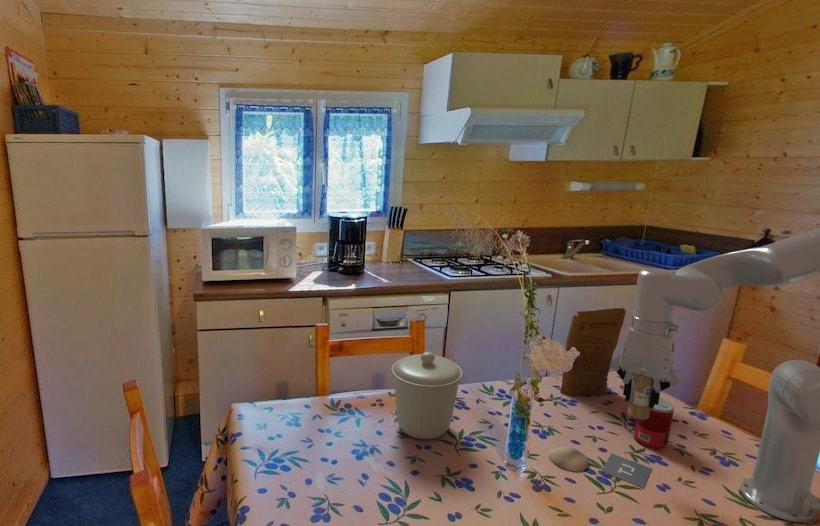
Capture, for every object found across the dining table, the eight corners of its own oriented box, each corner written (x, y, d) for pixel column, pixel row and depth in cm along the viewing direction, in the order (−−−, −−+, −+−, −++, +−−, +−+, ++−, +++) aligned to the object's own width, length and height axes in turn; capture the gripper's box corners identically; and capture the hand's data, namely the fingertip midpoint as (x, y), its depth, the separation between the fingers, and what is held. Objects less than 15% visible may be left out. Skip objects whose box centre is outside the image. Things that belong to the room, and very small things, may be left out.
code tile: (651, 468, 110) (651, 468, 110) (643, 488, 103) (643, 488, 103) (611, 453, 115) (611, 453, 115) (601, 471, 108) (601, 470, 108)
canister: (471, 439, 118) (478, 361, 114) (406, 455, 110) (411, 372, 106) (437, 405, 134) (441, 336, 130) (378, 417, 126) (381, 343, 122)
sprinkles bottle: (640, 422, 103) (648, 364, 100) (622, 412, 107) (629, 357, 104) (653, 417, 105) (662, 361, 102) (636, 408, 109) (643, 354, 106)
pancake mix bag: (619, 397, 145) (633, 310, 139) (563, 400, 141) (574, 311, 135) (607, 387, 151) (619, 304, 145) (552, 389, 148) (562, 304, 142)
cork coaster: (593, 458, 113) (593, 456, 113) (581, 476, 106) (581, 474, 106) (556, 443, 118) (556, 441, 118) (543, 460, 111) (543, 458, 111)
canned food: (671, 452, 117) (678, 412, 115) (637, 447, 119) (643, 407, 116) (661, 435, 124) (668, 397, 122) (629, 431, 126) (635, 393, 124)
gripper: (697, 329, 100) (684, 408, 104) (614, 313, 110) (605, 385, 113) (693, 339, 94) (680, 422, 98) (605, 321, 104) (596, 397, 107)
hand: (640, 401), depth 105 cm, fingers closed on sprinkles bottle, 4 cm apart
